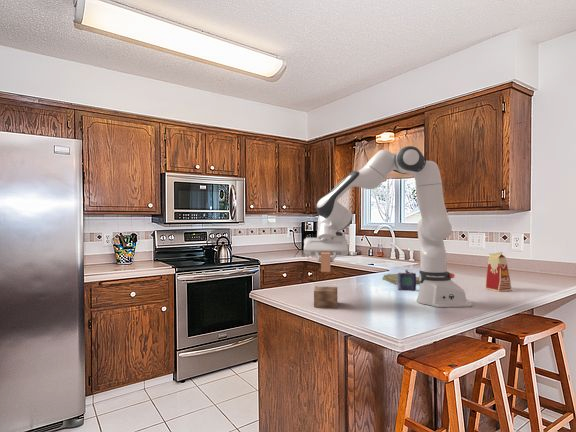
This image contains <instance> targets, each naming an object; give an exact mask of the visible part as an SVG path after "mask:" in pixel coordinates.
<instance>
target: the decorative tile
mask: <svg viewBox="0 0 576 432" xmlns="http://www.w3.org/2000/svg"><path fill="white" fill-rule="evenodd" d="M382 280H383V281H387V282H389V284H390V283H391V284H393V285H395V286H398V273H393V274H391V273H389V274H384V275H383V276H382ZM416 285H420V281H419V276H416Z"/></svg>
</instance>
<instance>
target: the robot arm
mask: <svg viewBox="0 0 576 432" xmlns="http://www.w3.org/2000/svg"><path fill="white" fill-rule="evenodd" d="M392 171H393V172H396V173H397V174H402V175H407V174H408V175H409V174H412V175H413V177H414V181H415V190H416V199H417V200H416V201H417V206H418V209H419V212H420V215H421V219H419V221H418V223H417V224H416V229H417V238H418V245H419V246H418V247H419V252H420V253H419V254H420V257H419V259H420V260H419V261H420V263H419V264H420V270H419V273H418V277H419V281H420V284H419V287H418V288H419V289H418V293H417V294H418V295H417V298H416V302H418V303H419V304H422V305H429V306H432V307H437V308H460V307H461V308H463V307H465V308H466V307H472V306H473V304H472V302H471V301H470V300H469V299H467V297H466V292H465V290H464V289H463V288H462V287H461V286H460V285H458V284H457V283H456V282H454V281H453V280H452V279H454V278H455V274H454V273H452V272H449V271H448V270H447V268H448V267H447V265H448V264H447V263H448V261H447V258H448V256H447V251H446V246H445V242H444V240H446V239H448V237H449V238H450V236H451V234H452V231H453V228H452V224H451V222H450V219H449V215H448V211H447V208H446V205H445V200H444V192H443V181H442V177H441V171H440V169H439V166H438V164H437V163H436V162H435V161H433V160H427V159H426V157H425V156H424V154H423V153H422V152H421V150H420V149H419V148H418V147H417V146H414V145H413V146H412V145H408V146H405V147H403V148H401V149H400V150H399V151H398V152H396V153H393V152H391V151H389V150H388V149H380V150H378V151H377V152H376V153H375V154H374V155H373V156H372V157H371V158H370V159H369V160H368V161H367V163H365V164H364V166H363V167H362V168H361V169H359V170H353V171H351V172H350V173H348V174H347V175H346V176H345V177H344V178H343V179H342V180H341V181H340V182H338V183H337V185H335V187H333V188H332V189H331V190H330V191H329V192H328V193H326V194H325V195H323V196H322V197H321V198H320V199H319V200H318V201H317V203H316V212H317V214H318V215H317V216H318V218H317V231H316V237H314V236H313V237H309V236H308V237H306V238H304V239H303V254H305V256H315V258H316V259H317V263H321V252H328V253H330V263H334V260H335V259H336V258H337V256H348V255H349V253H350V252H349V243H348V242H349V241H348V240H347V239H346V233H344V232H341V231H342V230H344V229H346V228H348V227H350V226H351V223H352V221H353V213H352V211H351V210H349V209H348V208H347V206H344V205H342V204H341V203H340V202H339V201H338V200H339V199H340V198H341V197H342V196H343V195H344V194H346V192H348V191H349V190H350V189H351V188H354V187H355V188H356V187H357V188H362V189H366V190H373V189H377V188H378V187H379V186H380V185H382V183H383V182H385V180H386V179H387V177H388V176H389V174H391V172H392Z"/></svg>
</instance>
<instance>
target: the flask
mask: <svg viewBox="0 0 576 432" xmlns="http://www.w3.org/2000/svg"><path fill="white" fill-rule="evenodd" d="M397 274H398V285H397V290H398V291H414V292H416V290H417V284H416V277H417V274H416V272H412V271H408V269H405V270H404V272H397Z"/></svg>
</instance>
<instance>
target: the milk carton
mask: <svg viewBox="0 0 576 432" xmlns="http://www.w3.org/2000/svg"><path fill="white" fill-rule="evenodd" d="M488 255H489V257H488V261H487V268H486V276H485V277H486V279H485V290H489V291H494V292H498V293H500V292H508V291H509V292H511V291H512V290H513V289H512V281H511V278H510V277H511V276H510V272H509V266H508V263H507V262H508V261H507V259H506V256H505V255H504V254H503V252H502V251H500V252H495V253H488Z"/></svg>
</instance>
